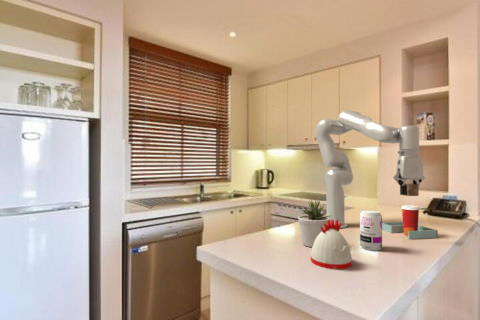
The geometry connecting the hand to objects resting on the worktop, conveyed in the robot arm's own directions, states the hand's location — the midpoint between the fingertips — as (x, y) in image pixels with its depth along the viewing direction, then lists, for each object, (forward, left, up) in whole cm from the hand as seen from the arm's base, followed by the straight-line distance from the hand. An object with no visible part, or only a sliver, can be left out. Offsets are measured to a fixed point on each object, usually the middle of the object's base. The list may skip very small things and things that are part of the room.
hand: (409, 194), depth 124 cm
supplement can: (-23, -5, -21) cm, 32 cm away
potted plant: (-44, +3, -21) cm, 49 cm away
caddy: (+10, +13, -21) cm, 27 cm away
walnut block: (0, 0, -1) cm, 1 cm away
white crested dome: (-47, -17, -22) cm, 54 cm away
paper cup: (+9, +10, -21) cm, 25 cm away
